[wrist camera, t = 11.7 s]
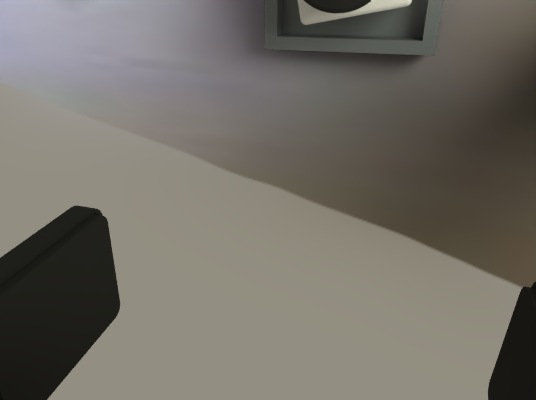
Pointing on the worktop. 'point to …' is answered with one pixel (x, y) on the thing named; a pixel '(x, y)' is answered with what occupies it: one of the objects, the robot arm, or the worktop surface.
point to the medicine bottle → (343, 8)
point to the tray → (356, 30)
